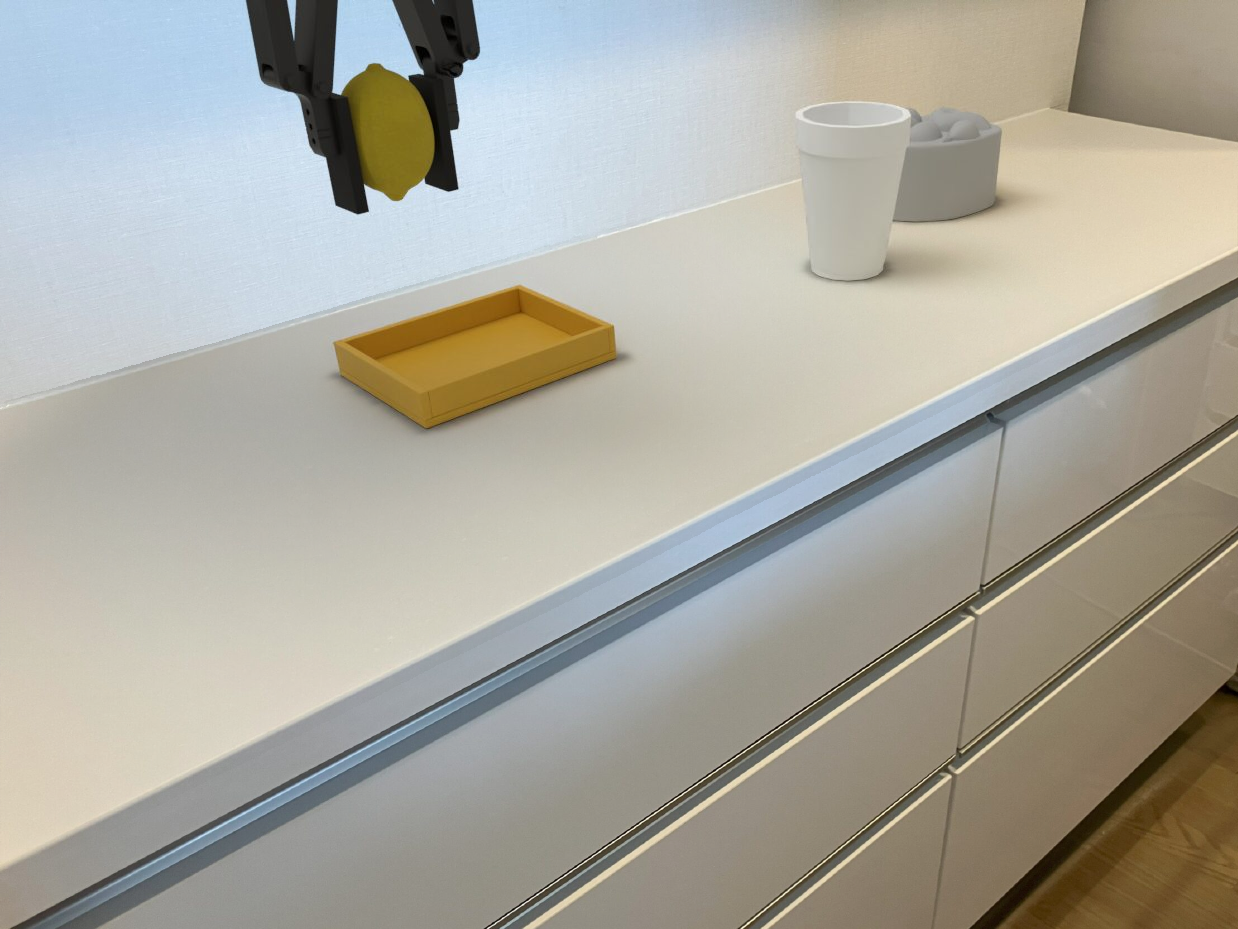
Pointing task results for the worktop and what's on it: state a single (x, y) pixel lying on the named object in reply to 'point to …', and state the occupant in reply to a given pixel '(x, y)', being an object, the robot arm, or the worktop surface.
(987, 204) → the lumpy-topped squat cylinder
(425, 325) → the yellow tray
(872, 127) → the foam cup
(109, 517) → the worktop surface
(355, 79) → the lemon
